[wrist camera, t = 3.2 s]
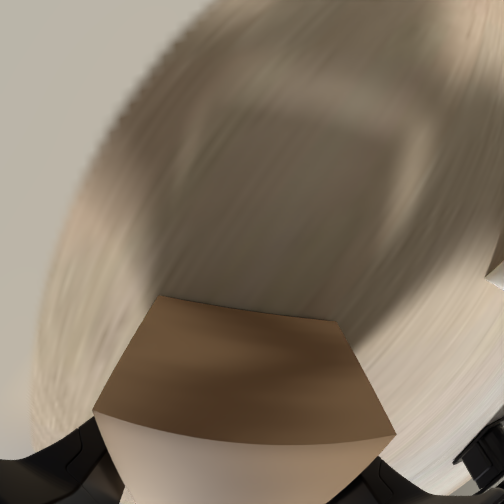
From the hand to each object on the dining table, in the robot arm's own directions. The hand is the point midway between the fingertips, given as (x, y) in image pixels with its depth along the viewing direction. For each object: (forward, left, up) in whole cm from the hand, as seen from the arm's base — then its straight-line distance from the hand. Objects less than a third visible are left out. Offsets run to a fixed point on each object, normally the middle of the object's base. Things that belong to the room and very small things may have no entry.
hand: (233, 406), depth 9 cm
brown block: (0, 0, -1) cm, 1 cm away
